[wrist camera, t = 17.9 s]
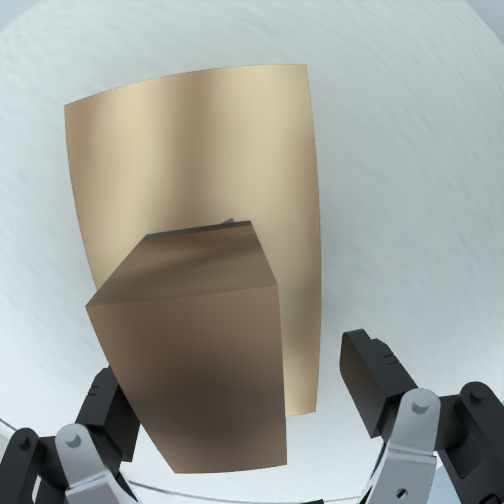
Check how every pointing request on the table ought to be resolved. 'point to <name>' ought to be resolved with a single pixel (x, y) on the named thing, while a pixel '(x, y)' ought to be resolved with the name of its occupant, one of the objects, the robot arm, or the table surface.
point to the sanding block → (199, 347)
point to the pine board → (209, 182)
